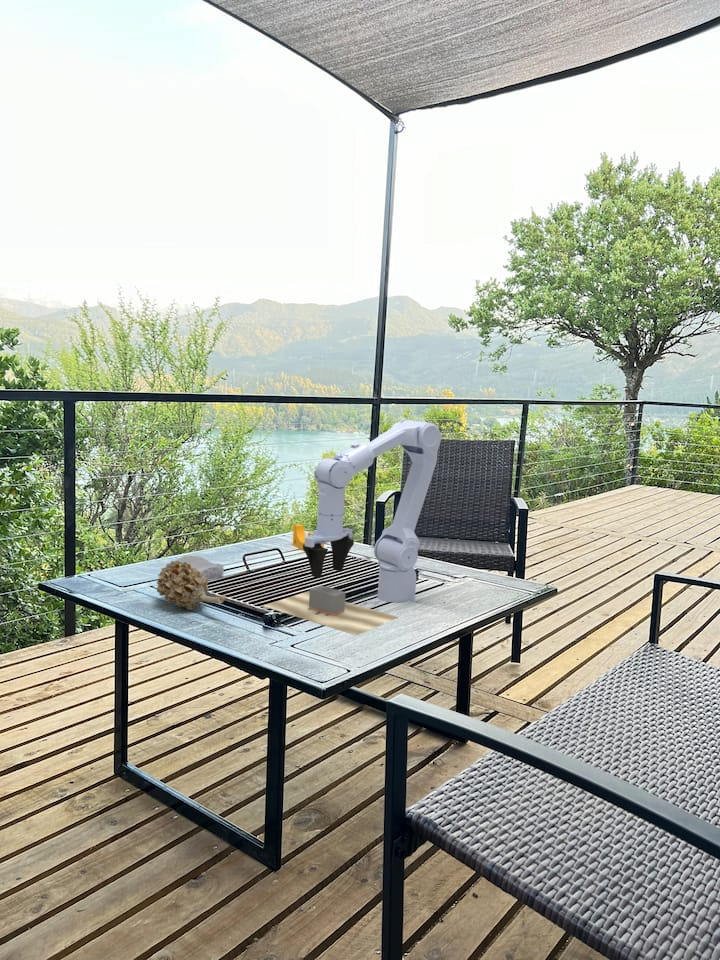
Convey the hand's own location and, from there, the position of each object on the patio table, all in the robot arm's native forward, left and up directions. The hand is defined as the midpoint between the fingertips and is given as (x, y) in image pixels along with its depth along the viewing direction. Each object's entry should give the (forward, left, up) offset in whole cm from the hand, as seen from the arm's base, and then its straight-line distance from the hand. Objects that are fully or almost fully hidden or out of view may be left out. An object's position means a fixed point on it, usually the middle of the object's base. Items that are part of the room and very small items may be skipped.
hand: (327, 573), depth 174 cm
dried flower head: (+18, -23, -10) cm, 31 cm away
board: (0, +2, -10) cm, 10 cm away
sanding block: (0, 0, -8) cm, 8 cm away
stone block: (-3, -43, -10) cm, 45 cm away
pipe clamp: (-44, -41, -10) cm, 61 cm away
